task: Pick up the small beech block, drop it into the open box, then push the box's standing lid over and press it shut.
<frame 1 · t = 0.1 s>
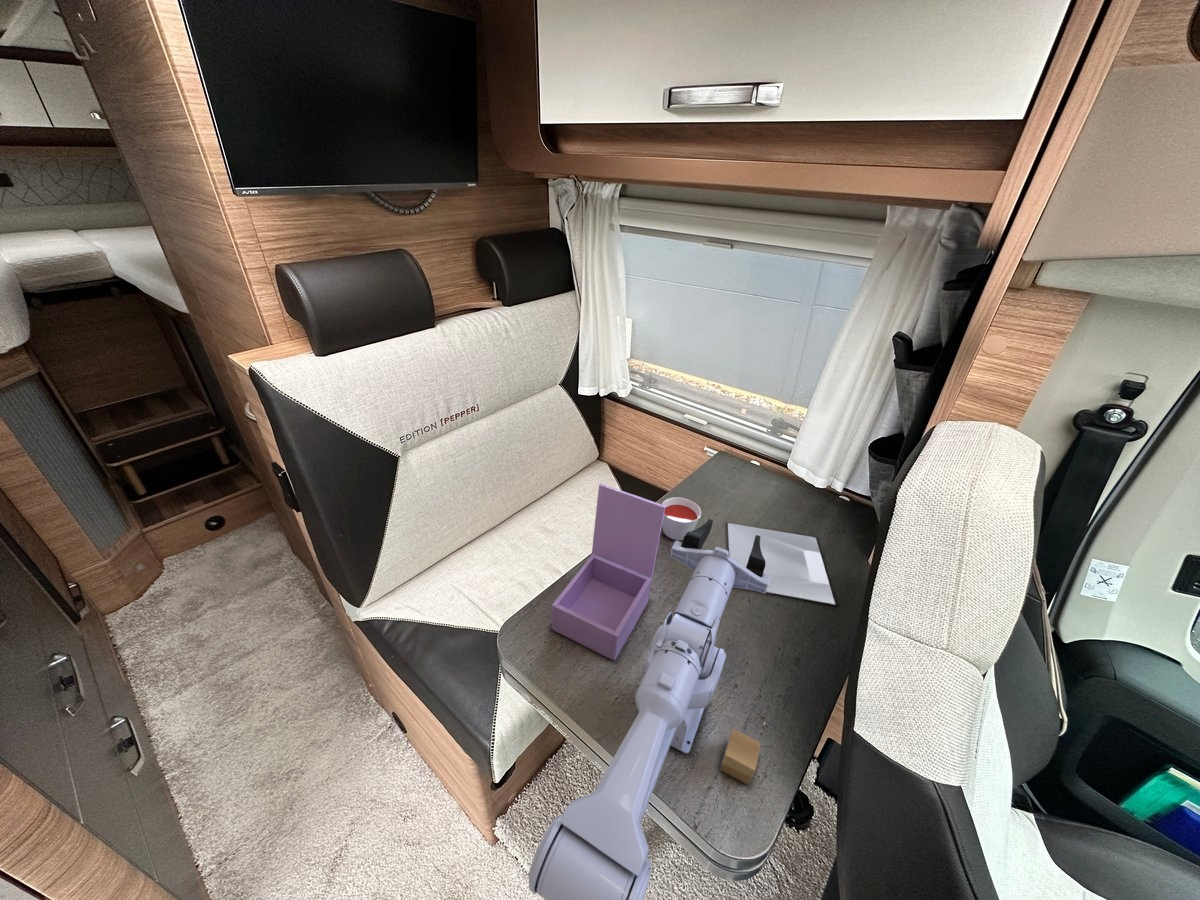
hand: (733, 531, 76), 22 cm above the table, tool horizontal, fingers open, 7 cm apart
purple box lid: (626, 531, 85), point 14 cm above the table, hinge at 95.0°
candle: (677, 531, 108), on the table
block: (737, 763, 66), on the table
open box: (601, 615, 87), on the table
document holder: (775, 560, 101), on the table
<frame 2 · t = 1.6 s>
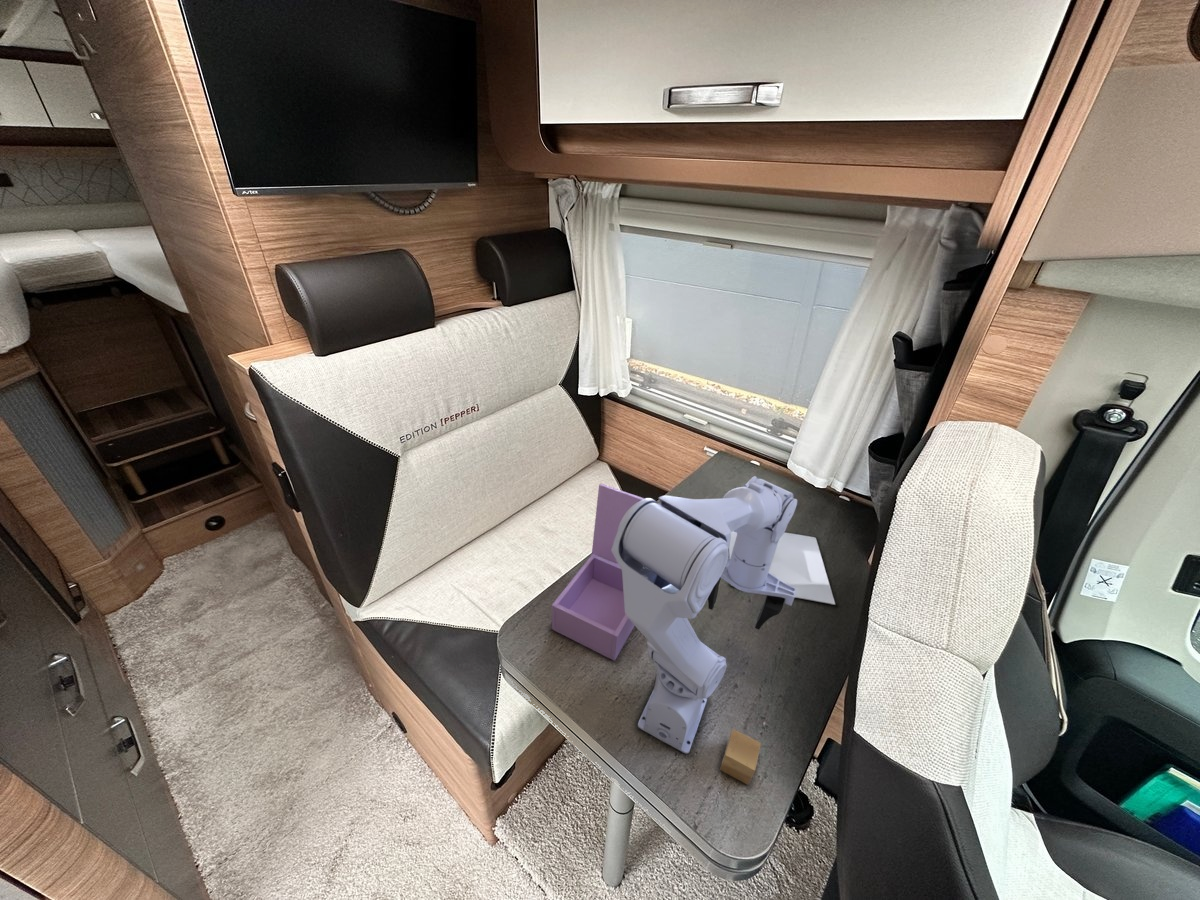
hand: (734, 614, 77), 9 cm above the table, tool pointing down, fingers open, 7 cm apart
nothing on the table moved.
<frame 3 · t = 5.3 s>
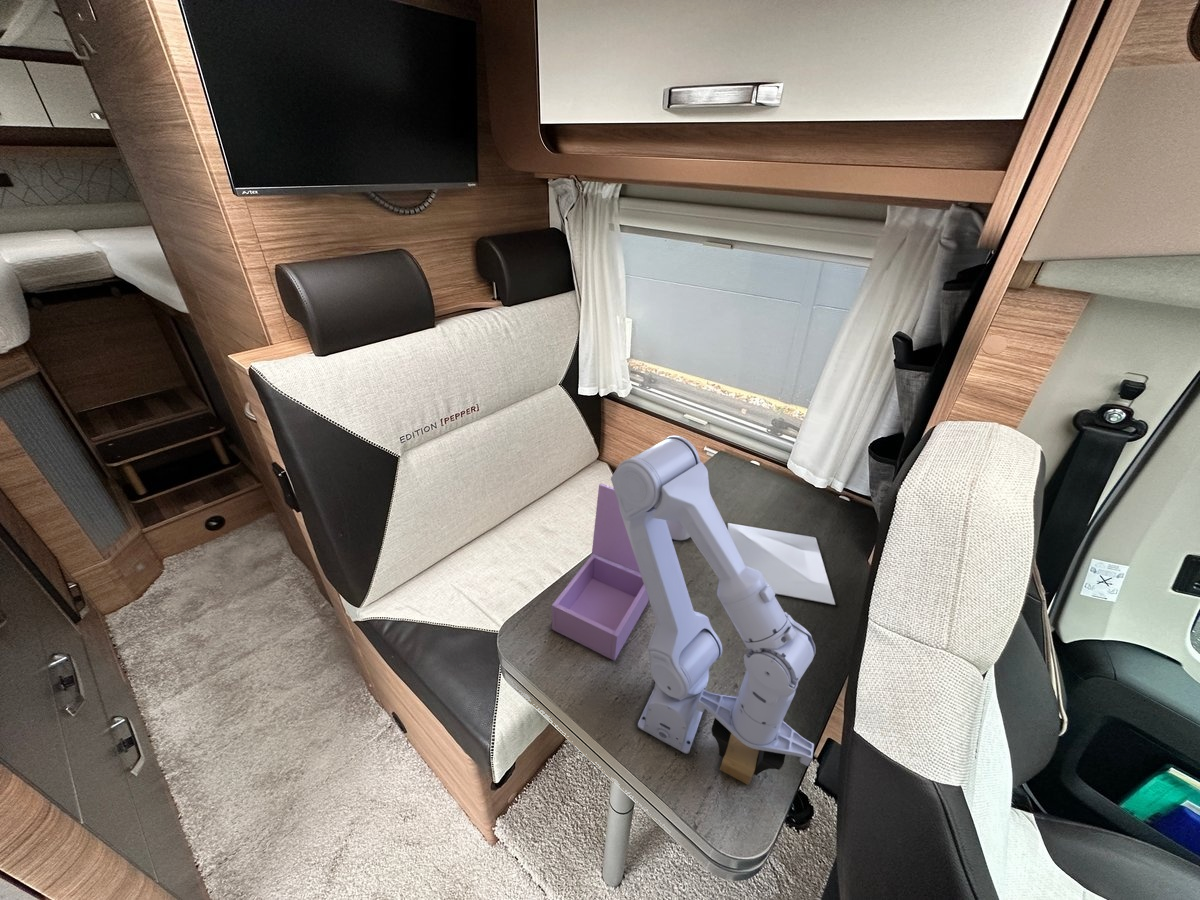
hand: (739, 758, 65), 1 cm above the table, tool pointing down, fingers closed on block, 4 cm apart
block: (737, 763, 66), on the table, touching gripper
everything else where it was.
when the fingers open (2 cm above the table, at t = 12.3 s): block stays where it is, resting on open box.
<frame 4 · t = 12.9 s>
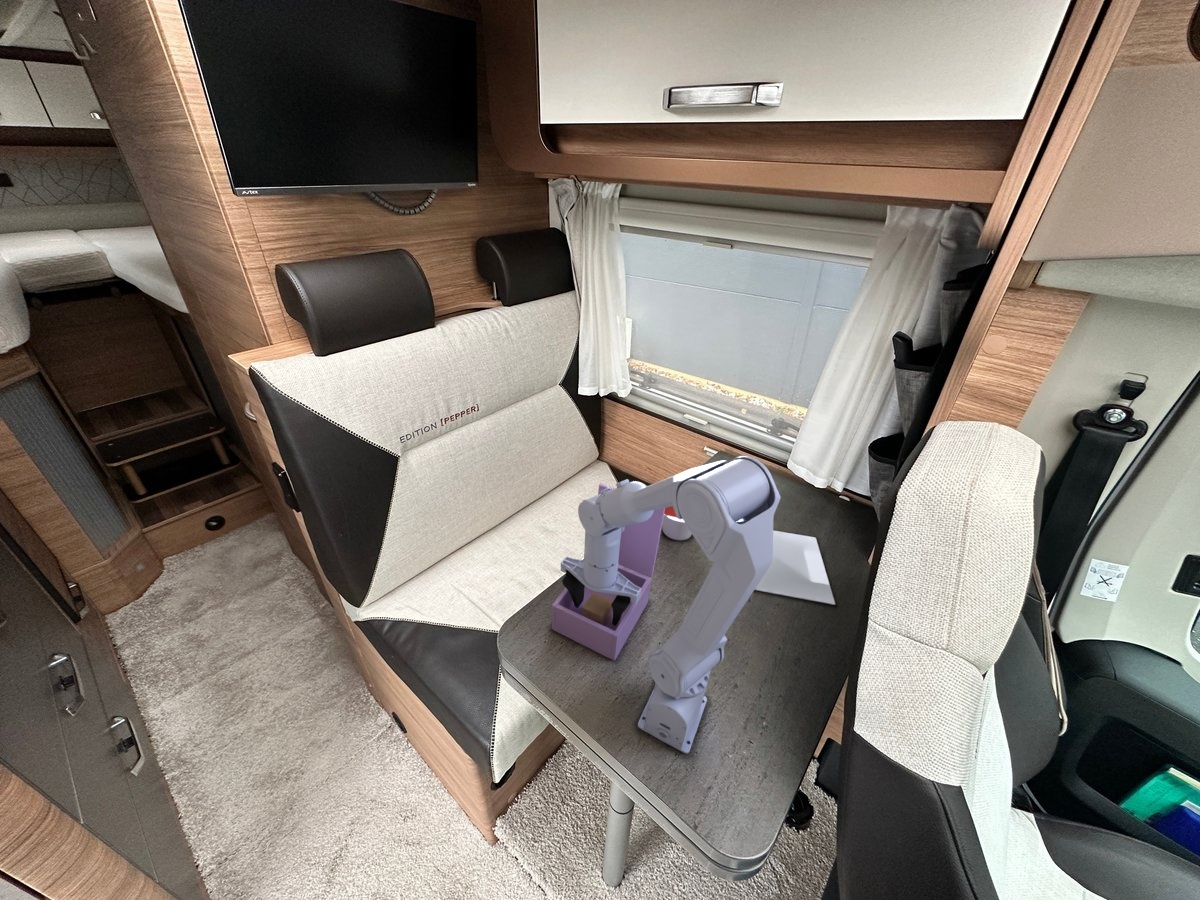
hand: (597, 612, 84), 3 cm above the table, tool pointing down, fingers open, 7 cm apart
block: (596, 619, 85), point 1 cm above the table, touching open box
everything else where it was.
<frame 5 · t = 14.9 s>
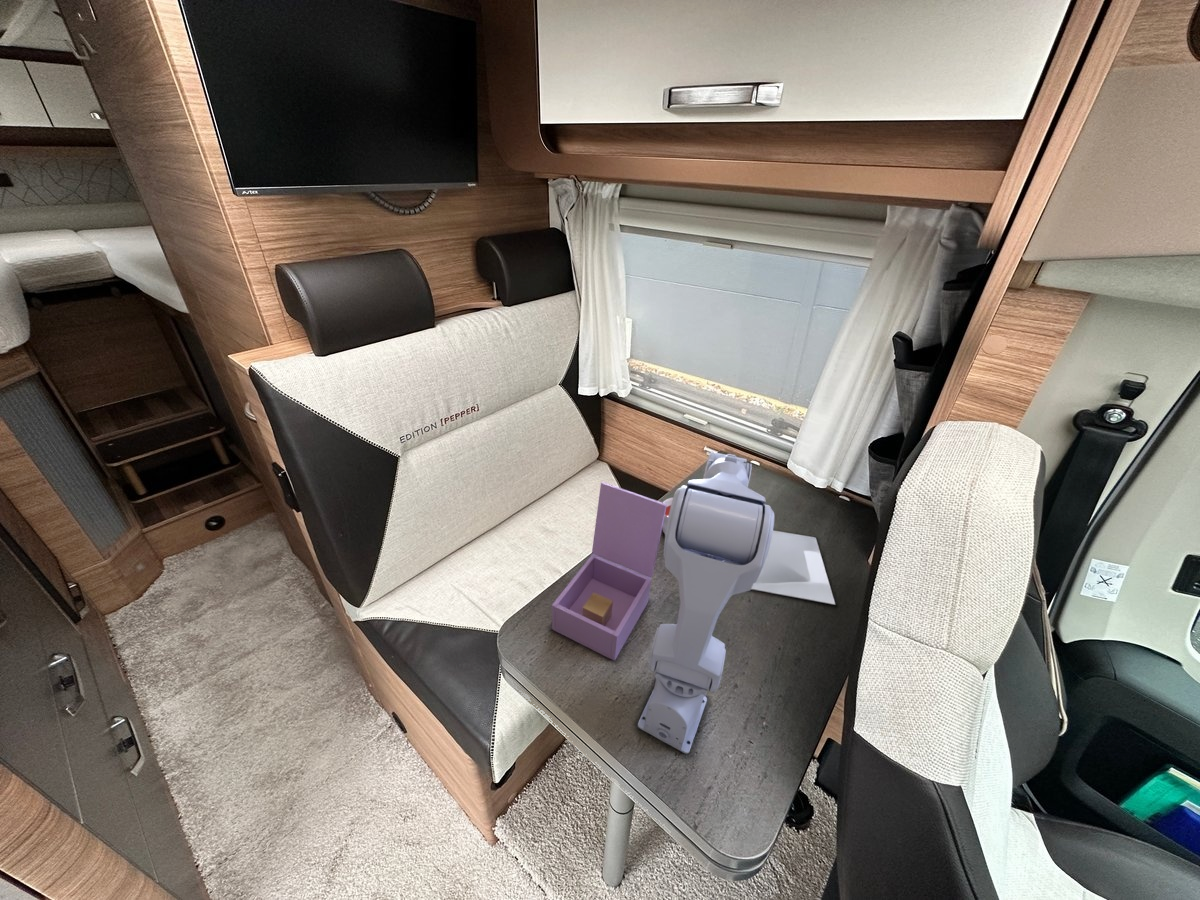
hand: (702, 580, 83), 9 cm above the table, tool pointing down, fingers open, 7 cm apart
purple box lid: (627, 530, 86), point 14 cm above the table, hinge at 97.7°
everything else where it was.
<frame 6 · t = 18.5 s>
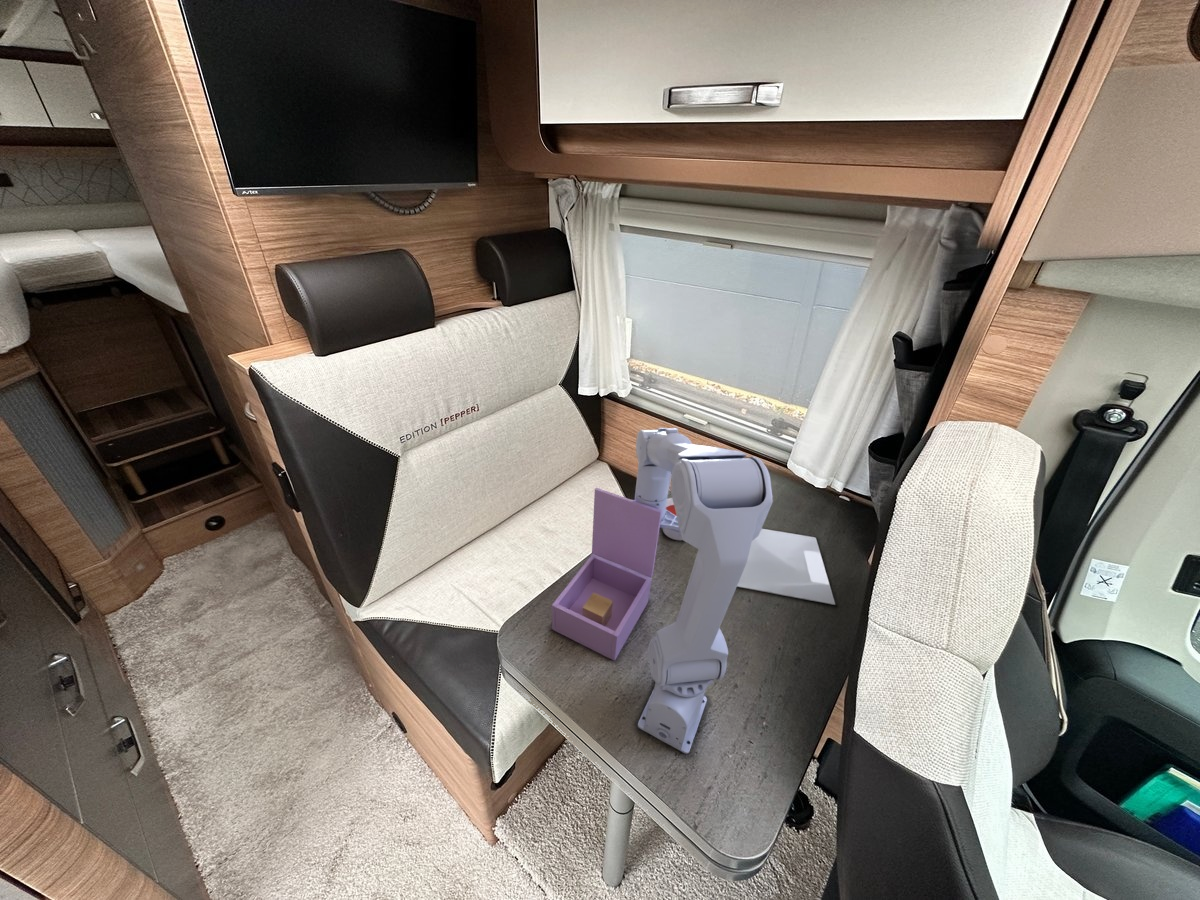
hand: (644, 550, 88), 9 cm above the table, tool pointing down, fingers closed, pressing on purple box lid
purple box lid: (624, 533, 85), point 14 cm above the table, hinge at 88.9°, touching gripper
everything else where it was.
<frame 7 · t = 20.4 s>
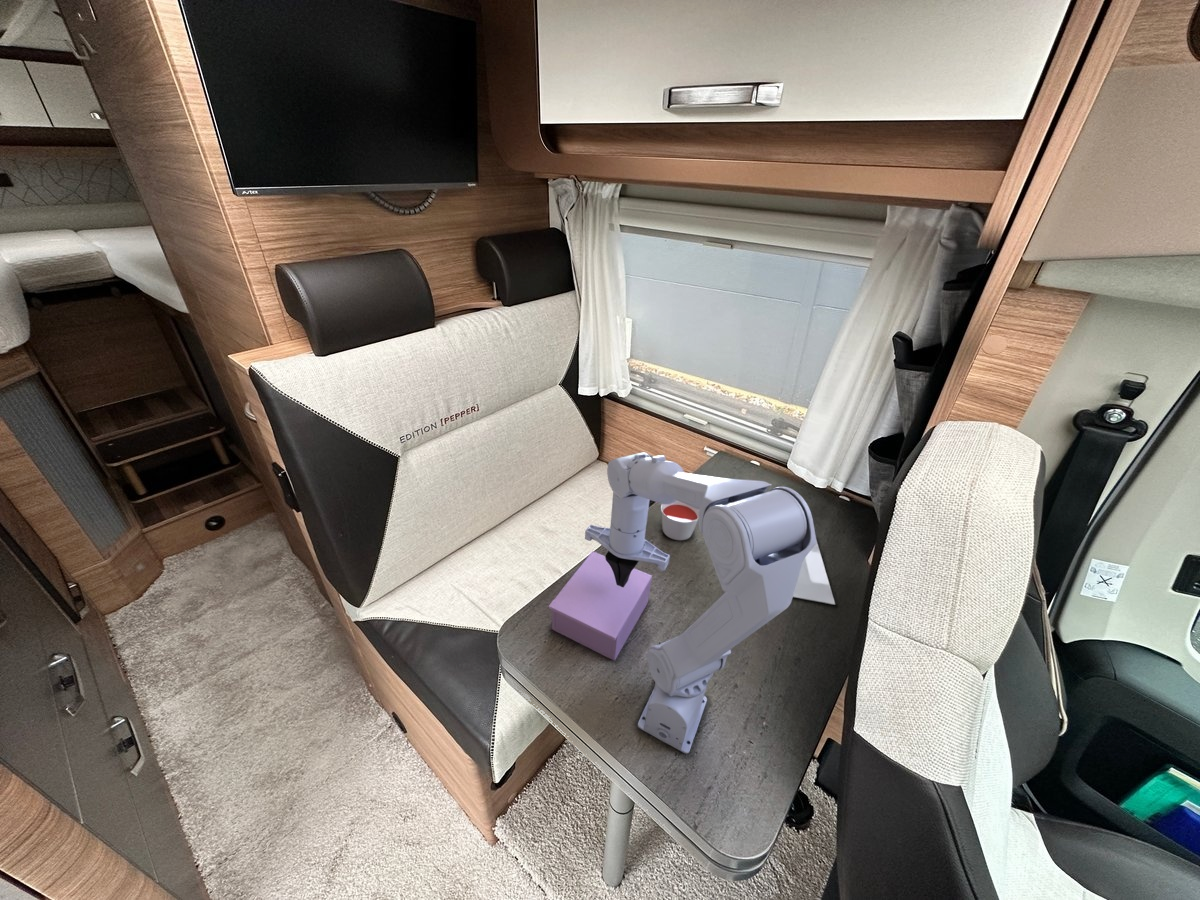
hand: (622, 582, 81), 9 cm above the table, tool pointing down, fingers closed
purple box lid: (602, 591, 83), point 7 cm above the table, hinge at -0.2°
everything else where it was.
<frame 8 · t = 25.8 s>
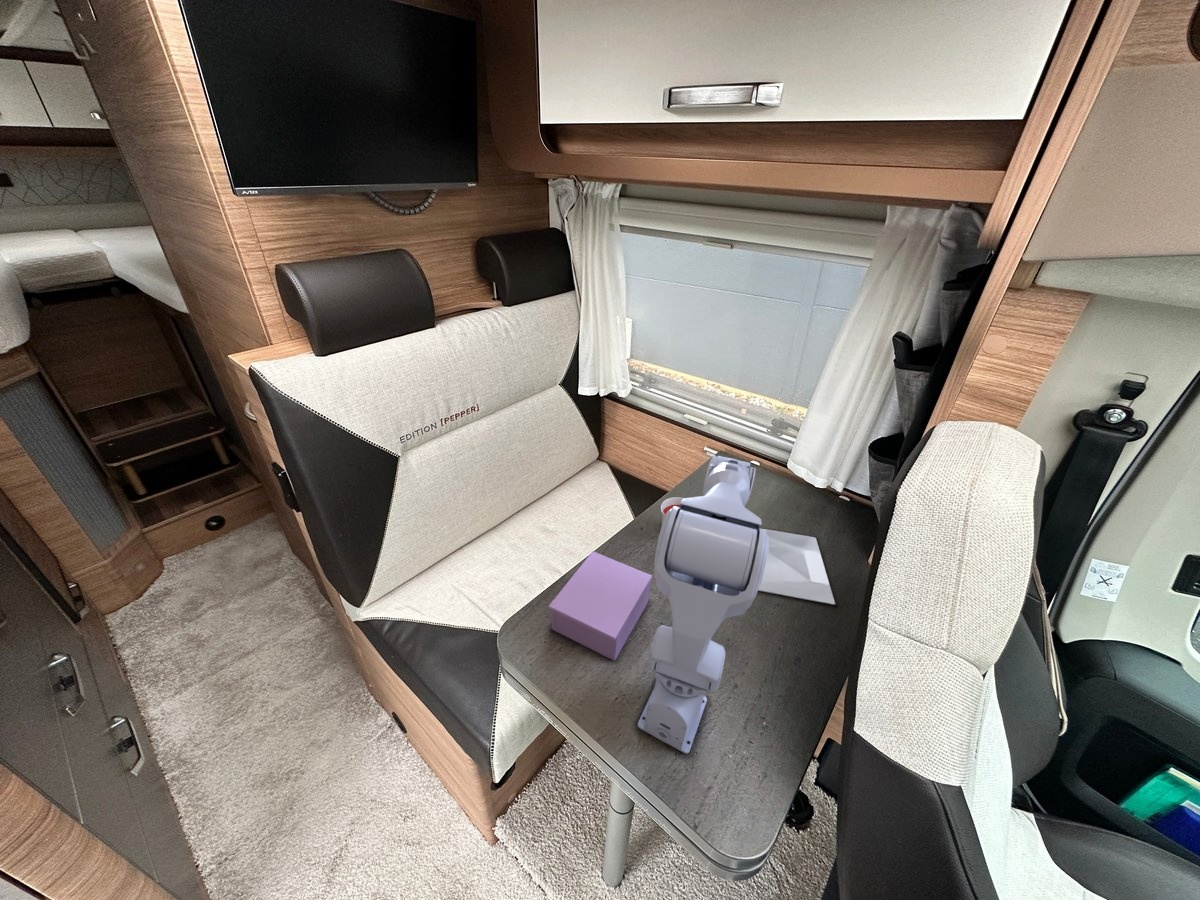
hand: (703, 588, 80), 10 cm above the table, tool pointing down, fingers closed
nothing on the table moved.
at the end: block inside the target area in the open box (1.9 cm from its centre), point 0.8 cm above the open box's base; purple box lid at +0° (first picture: +95°) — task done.
